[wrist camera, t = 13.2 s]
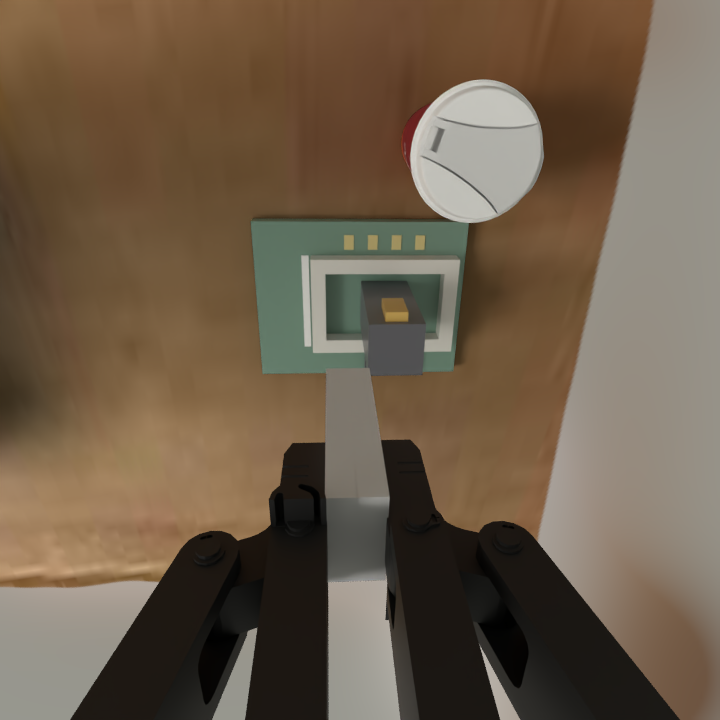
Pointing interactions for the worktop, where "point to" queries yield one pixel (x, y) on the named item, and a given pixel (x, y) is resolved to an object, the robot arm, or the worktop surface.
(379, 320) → the plug
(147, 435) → the worktop surface
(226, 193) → the worktop surface
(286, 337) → the board
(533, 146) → the paper cup
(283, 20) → the worktop surface
